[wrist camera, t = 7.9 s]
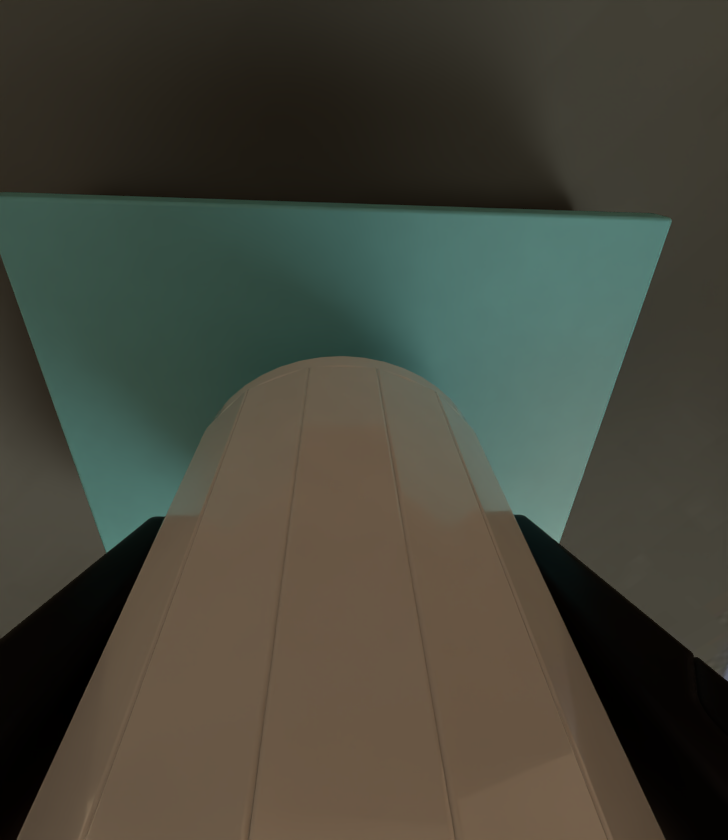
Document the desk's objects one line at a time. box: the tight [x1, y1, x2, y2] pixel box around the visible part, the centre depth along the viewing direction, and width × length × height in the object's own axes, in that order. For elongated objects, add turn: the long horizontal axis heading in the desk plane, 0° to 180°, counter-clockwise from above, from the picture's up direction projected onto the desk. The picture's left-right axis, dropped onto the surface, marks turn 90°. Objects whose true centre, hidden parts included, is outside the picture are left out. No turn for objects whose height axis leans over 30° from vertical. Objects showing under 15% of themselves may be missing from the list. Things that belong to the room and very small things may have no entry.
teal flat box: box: [0, 192, 671, 553], centre depth 13 cm, size 13×11×3 cm
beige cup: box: [16, 356, 666, 840], centre depth 7 cm, size 6×6×7 cm
